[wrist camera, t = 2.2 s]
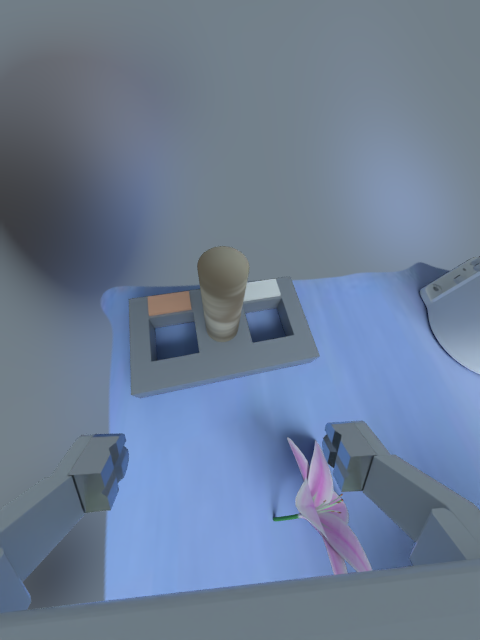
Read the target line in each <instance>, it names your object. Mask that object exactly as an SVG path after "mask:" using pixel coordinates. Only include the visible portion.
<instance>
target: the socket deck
mask: <svg viewBox="0 0 480 640" xmlns="http://www.w3.org/2000/svg"><path fill="white" fill-rule="evenodd" d="M275 308H277V310H278V313H279V316H280V319H281V323H282V326H283V329H284V332H285V335H286V337H281V338H276V339H270V340H265V341H260V342H254V343H252V339H251V335H250V331H249V327H248V323H247V319H246V315H245V313H250V312H256V311H263V310H269V309H275ZM189 322H195V327H196V333H197V340H198V346H199V353H195V354H190V355H185V356H179V357H174V358H169V359H163V360H158V361H157V351H156V337H155V328H159V327H165V326H171V325H177V324H183V323H189ZM129 328H130V368H131V395H132V396H135V397H138V398H143V397H148V396H153V395H158V394H162V393H167V392H172V391H177V390H181V389H186V388H191V387H196V386H200V385H205V384H210V383H215V382H219V381H224V380H229V379H234V378H239V377H243V376H248V375H253V374H258V373H262V372H267V371H272V370H277V369H281V368H286V367H291V366H296V365H300V364H305V363H310V362H312V361H314V360H315V359H316V358H318V357H319V356H320V355H319V353H318V350H317V347H316V345H315V342H314V339H313V337H312V334H311V331H310V328H309V326H308V323H307V320H306V318H305V315H304V312H303V310H302V307H301V304H300V301H299V299H298V296H297V293H296V291H295V288H294V285H293V283H292V280H291V277H290V276H289V277H281V278H274V279H267V280H260V281H253V282H247V285H246V290H245V296H244V301H243V306H242V311H241V317H240V322H239V327H238V332H237V334H236V336H235V337H234V338H233V339H231V340H230V341H227V342H218V341H215V340H213V339H212V338H211V337H210V336H209V335H208V333H207V330H206V324H205V317H204V310H203V303H202V296H201V289H196V290H189V291H182V292H175V293H168V294H161V295H154V296H146V297H139V298H132V299H129Z"/></svg>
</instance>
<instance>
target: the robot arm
mask: <svg viewBox="0 0 480 640" xmlns="http://www.w3.org/2000/svg"><path fill="white" fill-rule="evenodd" d="M420 295H421V297H422V299H423V301H424V303H425V304H426V306H427V309H428V316H429V322H430V326H431V328H432V331H433V333H434V335H435V337H436V338H437V340H438V341H439V343H440V344H441V346H442V347H443V348H444V349H445V350H446V352H447V353H448V354H449V355H450V356H452V357H453V358H454V359H455V360H456V361H457V362H459V363H460V364H461V365H463V366H464V367H466V368H468V369H469V370H471V371H473V372H475V373H478V374H480V256H479V257H473V258H472V259H469V260H467V261H466V262H464V263H462V264H461V265H459V266H458V267H456V268H454V269H453V270H451V271H449V272H448V273H446V274H445V275H443V276H441V277H440V278H438V279H436V280H435V281H433V282H431V283H430V284H428V285H427V286H425V287H423V288H422V289H421V290H420ZM325 431H326V433H327V435H326V436H325V437H324V438H323V442H322V448H323V453H324V457H325V459H326V461H327V463H328V464H329V465H330V466H331V467H333V468H334V470H333V476H334V478H335V480H336V482H337V484H338V486H339V488H340V490H341V492H348V491H363V493H364V494H365V495H366V496H367V497H368V498H370V499H371V500H372V501H373V502H374V503H375V504H376V505H377V506H378V507H379V508H380V509H381V510H382V511H383V512H384V513H385V514H386V515H387V516H388V517H389V518H391V519H392V520H393V521H394V522H395V523H396V524H397V525H398V526H399V527H400V528H401V529H402V530H403V531H404V532H405V533H406V534H407V535H408V536H409V537H410V538H412V539H413V540H414V541H415V542H416V543H415V545H414V547H413V549H412V551H411V553H410V561H411V562H412V564H413V566H407V567H399V568H390V569H381V570H372V571H363V572H355V573H346V574H337V575H328V576H319V577H311V578H302V579H293V580H284V581H275V582H267V583H258V584H249V585H240V586H231V587H223V588H214V589H205V590H196V591H187V592H179V593H170V594H161V595H152V596H144V597H135V598H126V599H117V600H109V601H100V602H92V603H82V604H74V605H65V606H56V607H47V608H39V609H30V610H27V608H28V606H29V604H30V603H31V597H30V594H29V592H28V591H27V589H26V588H25V586H24V584H23V581H24V580H25V579H26V578H27V577H28V576H29V575H30V574H31V572H32V571H33V570H34V569H35V568H36V567H37V566H38V565H39V564H40V563H41V561H42V560H43V559H44V558H45V557H46V556H47V555H48V554H49V553H50V552H51V551H52V550H53V548H54V547H55V546H56V545H57V544H58V543H59V542H60V541H61V540H62V539H63V538H64V536H65V535H66V534H67V533H68V532H69V531H70V530H71V529H72V528H73V527H74V526H75V524H76V523H77V522H78V521H79V520H80V519H81V518H82V517H83V516H84V513H90V512H99V511H108V510H111V508H112V506H113V503H114V501H115V498H116V496H117V493H118V491H119V488H118V482H119V481H120V480H121V479H122V478H124V476H125V473H126V470H127V466H128V461H129V453H128V449H127V448H126V447H125V446H124V444H125V442H126V438H125V434H93V435H81V436H79V437H78V438H77V439H76V441H75V442H74V443H73V445H72V447H71V448H70V449H69V451H68V452H67V453H66V455H65V456H64V458H63V459H62V460H61V462H60V463H59V465H58V466H57V468H56V469H55V470H54V472H53V473H52V475H51V476H50V477H47V478H44V479H42V480H41V481H40V482H38V483H37V484H35V485H34V486H33V487H31V488H30V489H28V490H27V491H26V492H24V493H23V494H21V495H20V496H19V497H18V498H16V499H15V500H13V501H12V502H10V503H9V504H7V505H6V506H5V507H3V508H2V509H0V640H480V510H479V509H478V508H477V507H476V506H475V505H474V504H473V503H471V502H470V501H468V500H467V499H465V498H463V497H462V496H460V495H459V494H457V493H455V492H454V491H452V490H450V489H449V488H447V487H446V486H444V485H442V484H441V483H439V482H438V481H436V480H434V479H433V478H431V477H430V476H428V475H426V474H425V473H423V472H422V471H420V470H418V469H417V468H415V467H414V466H412V465H410V464H409V463H407V462H406V461H404V460H402V459H401V458H399V457H398V456H396V455H391V454H390V453H389V452H388V450H387V449H386V448H385V447H384V445H383V444H382V443H381V442H380V440H379V439H378V438H377V437H376V435H375V434H374V433H373V432H372V430H371V429H370V428H369V427H368V425H367V424H366V423H365V422H364V421H351V422H333V423H327V424H326V426H325Z"/></svg>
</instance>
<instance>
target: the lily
mask: <svg viewBox="0 0 480 640" xmlns="http://www.w3.org/2000/svg"><path fill="white" fill-rule="evenodd" d="M287 440H288V442H289V444H290V447H291V449H292V451H293V454H294V456H295V459H296V461H297V464H298V466H299V469H300V472H301V474H302V477H303V481H304V483H303V484H302V486H301V488H300V490H299V491H298V493H297V496H296V499H295V504H296V507H297V509H298V511H299V512H300V513H299V514H295V515H290V516H283V517H275V518H273V521H283V520H290V519H297V518H303V519H306V520H307V521H308V522H309V523H310V524H312V525H313V527H314V528H315V529H316V530H317V531H318V532H319V533H320V535H321V536H322V537H323V540H324V543H325V546H326V549H327V552H328V556H329V559H330V562H331V566H332V569H333V573H334V575H337V574H346V573H347V567H346V564H345V561H344V559H345V560H346V561H347V562H348V563H349V564H350V565H351V566H352V567H353V568H354V569H355V570H356V571H357V572H363V571H372V568H371V565H370V563H369V561H368V559H367V556H366V554H365V552H364V550H363V548H362V546H361V544H360V542H359V541H358V539H357V537H356V535H355V534H354V533H353V531H352V530H351V528H350V527H349V526H348V519H349V515H348V510H347V508H346V505H345V503H344V502H343V499H341V498H340V497H341V496H342V495H343V494H341V495H340V496H339V495H338V494H337V493H336V492H334V491H333V480H332V476H331V472H330V469H329V466H328V464H327V461H326V459H325V457H324V454H323V452H322V450H321V448H320V446H319V444H318V443H317V441H316V440H315V446H314V452H313V456H312V460H311V465H310V466H309V463H308V461H307V460H306V458H305V456H304V455H303V453H302V452H301V451H300V450H299V448H298V447H297V446H296V445H295V444H294V442H293V441H292V440H291V439H289V438H288V437H287Z"/></svg>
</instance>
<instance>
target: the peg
mask: <svg viewBox="0 0 480 640" xmlns="http://www.w3.org/2000/svg"><path fill="white" fill-rule="evenodd" d="M197 267H198V275H199V282H200V289H201V296H202V303H203V310H204V317H205V324H206V330H207V333H208V335H209V336H210V337H211V338H212V339H213V340H215V341H218V342H227V341H230V340H231V339H233V338H234V337H235V336H236V334H237V332H238V327H239V322H240V317H241V311H242V306H243V301H244V296H245V290H246V285H247V279H248V274H249V263H248V260H247V258H246V257H245V256H244V255H243V254H242V253H241V252H240V251H238V250H236V249H234V248H231V247H226V246H220V247H214V248H211V249H209V250H208V251H206V252H204V253H203V254H202V255H201V257H200V259H199V261H198V266H197Z"/></svg>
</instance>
